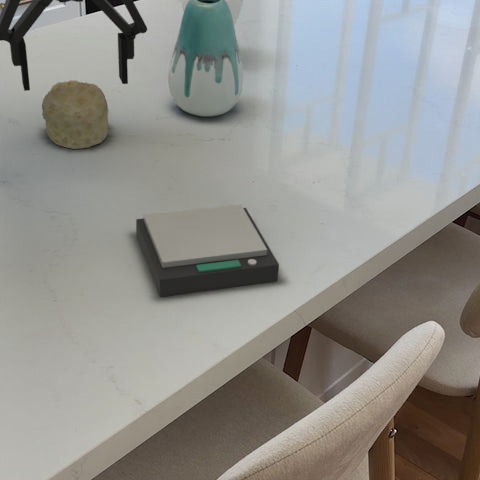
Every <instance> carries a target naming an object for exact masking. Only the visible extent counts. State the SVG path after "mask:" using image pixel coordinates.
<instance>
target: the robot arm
mask: <svg viewBox="0 0 480 480" xmlns="http://www.w3.org/2000/svg"><path fill="white" fill-rule="evenodd" d="M21 1H22V0H5V2H4V4H3V6H2V9H1V11H0V41H5V42H7V43H8V44H9V49H10V58H11V62H12V65H13V66H14V67H20V71H21V74H20V75H21V81H22V82H21V83H22V87H23V91H24V92H25V91H26V92H28V91H31V86H30V77H29V66H28V56H27V45H26V42H25V39H24V37H25V36H26V34H27V33H28V32H29V30H30V29H31V28H32V27H33V25H34V24H35V23H36V21H37V20H38V19H39V18H40V16H41V15H42V14H43V12H44V11H45V10H46V9H47V8H48V7H50V5H51V4H52V3H53V1H54V0H31V2H30V3H29V5H28V6H27V8H26V9H24V11H23V13H22V14H21V15H20V17H19V18H18V19H17V20H16V21H15V23H14V25H13V26H12V27H11V25H12V22H13V20H14V17H15V15H16V13H17V10H18V8H19V6H20V3H21ZM56 1H57V2H59V3H68V2H76V3H80V2H84V0H56ZM121 1H122V3H123V4H124V7H125V8H126V10H127V12H128V13H129V15H130V18H131V20H132V21H133V22H131V23H129V22H128V21H127V20H126V19H125V18H124V17H123V16H122V14H121V13H120V12H118V11H117V9H116V8H115V7H114V6H113V5H112V4H111V3H110V2H109V1H108V0H91V2H93V3H94V4H95V5H96V6H97V7H98V8H99V9H100V10H101V11H102V12H103V13H104V15H105V16H106V17H107V18H108V19H109V20H110V21H111V22H112V23H113V24H114V25H115V26H116V27H117V28H118V29H119V31H121V32H117V56H118V77H119V80H120V82H121V84H122V85H127V84H129V76H128V74H129V72H128V60H134V57H135V40H136V38H137V37H136V36H137V35H139V34H145V33H147V31H148V27H147V25H146V22H145V21H144V19H143V17H142V15H141V13H140V11H139V9H138V8H137V6H136V4H135V2H134V0H121ZM10 27H11V29H10Z"/></svg>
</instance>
